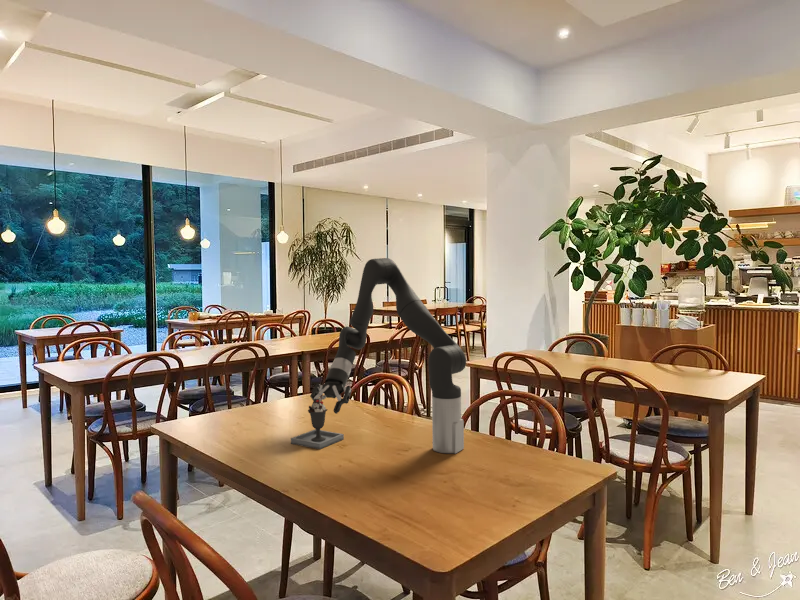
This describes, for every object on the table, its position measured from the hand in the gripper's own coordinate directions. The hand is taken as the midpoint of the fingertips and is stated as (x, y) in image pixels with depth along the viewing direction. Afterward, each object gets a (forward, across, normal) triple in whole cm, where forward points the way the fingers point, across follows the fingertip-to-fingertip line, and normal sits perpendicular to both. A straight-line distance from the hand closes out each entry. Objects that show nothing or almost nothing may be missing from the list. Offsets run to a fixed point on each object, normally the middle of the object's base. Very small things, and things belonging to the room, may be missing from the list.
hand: (324, 411), depth 189 cm
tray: (+10, 0, +3) cm, 10 cm away
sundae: (+10, 0, +3) cm, 10 cm away
